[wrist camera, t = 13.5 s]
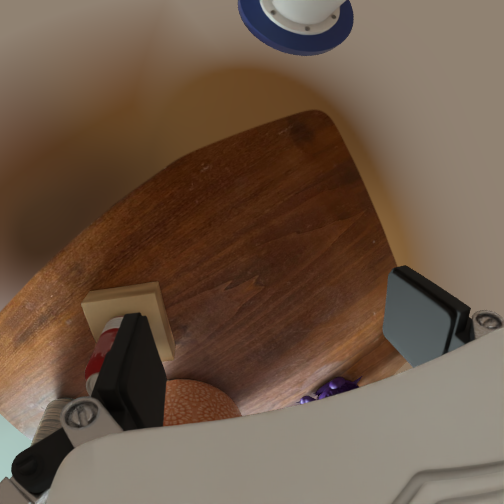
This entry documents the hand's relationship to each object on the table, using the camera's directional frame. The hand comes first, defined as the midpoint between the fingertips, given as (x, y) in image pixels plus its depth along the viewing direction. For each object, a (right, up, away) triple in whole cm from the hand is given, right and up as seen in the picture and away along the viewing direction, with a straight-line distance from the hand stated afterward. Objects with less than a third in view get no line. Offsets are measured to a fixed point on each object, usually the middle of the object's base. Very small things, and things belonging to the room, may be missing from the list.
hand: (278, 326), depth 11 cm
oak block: (-19, -7, +31) cm, 37 cm away
